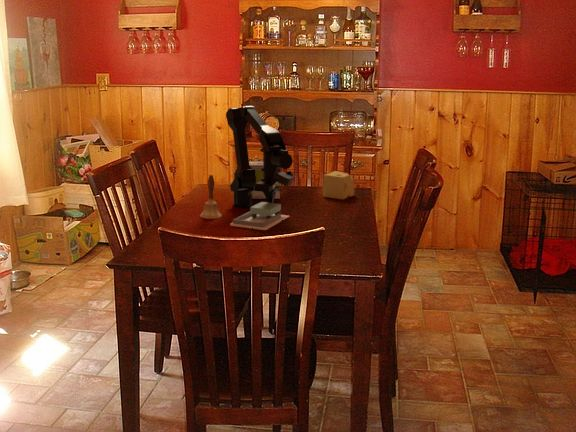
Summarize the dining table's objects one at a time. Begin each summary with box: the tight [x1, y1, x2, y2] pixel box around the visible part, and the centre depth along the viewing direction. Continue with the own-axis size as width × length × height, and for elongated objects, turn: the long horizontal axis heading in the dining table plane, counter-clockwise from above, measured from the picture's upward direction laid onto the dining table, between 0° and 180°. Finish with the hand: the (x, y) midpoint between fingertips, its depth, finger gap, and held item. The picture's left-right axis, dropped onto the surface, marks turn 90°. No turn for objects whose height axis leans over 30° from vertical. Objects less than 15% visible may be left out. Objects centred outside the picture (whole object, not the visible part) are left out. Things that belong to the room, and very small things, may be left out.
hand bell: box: [199, 174, 223, 220], centre depth 263 cm, size 8×8×16 cm
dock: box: [229, 211, 290, 231], centre depth 259 cm, size 14×22×2 cm, turn 157°
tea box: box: [249, 161, 281, 200], centre depth 298 cm, size 15×10×15 cm, turn 92°
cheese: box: [322, 170, 355, 200], centre depth 302 cm, size 10×11×10 cm
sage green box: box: [249, 201, 282, 219], centre depth 261 cm, size 8×10×4 cm
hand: (271, 205), depth 266 cm, fingers closed
